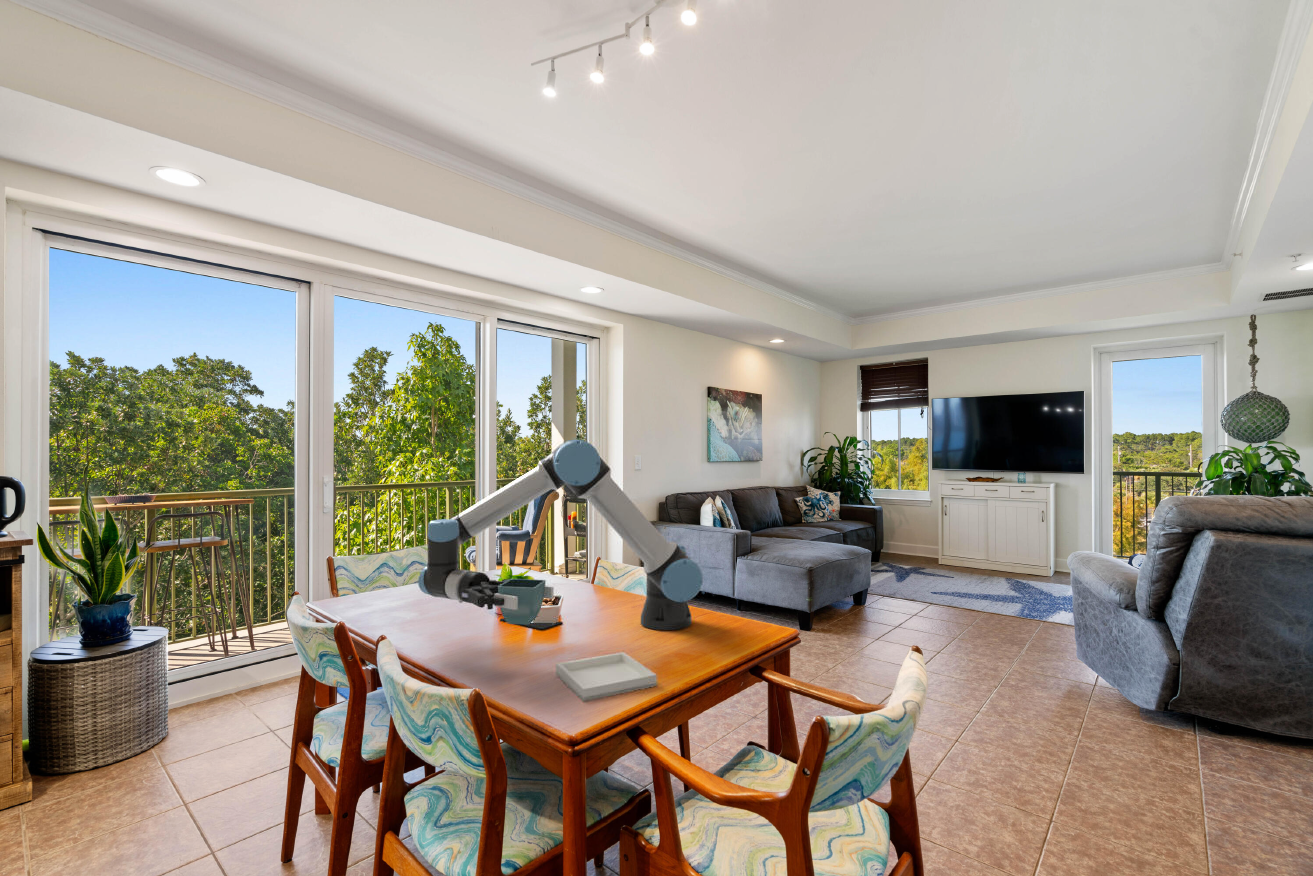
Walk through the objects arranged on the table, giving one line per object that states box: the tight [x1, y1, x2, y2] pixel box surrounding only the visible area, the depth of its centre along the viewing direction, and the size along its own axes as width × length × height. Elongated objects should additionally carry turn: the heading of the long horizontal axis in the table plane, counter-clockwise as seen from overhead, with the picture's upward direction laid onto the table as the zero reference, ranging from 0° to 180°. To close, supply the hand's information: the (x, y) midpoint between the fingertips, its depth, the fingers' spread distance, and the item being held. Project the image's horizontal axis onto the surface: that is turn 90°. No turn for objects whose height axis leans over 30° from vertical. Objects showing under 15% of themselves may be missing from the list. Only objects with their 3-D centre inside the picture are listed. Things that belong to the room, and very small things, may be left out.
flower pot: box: [498, 578, 546, 625], centre depth 140 cm, size 9×9×9 cm
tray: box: [555, 651, 658, 702], centre depth 136 cm, size 17×17×2 cm
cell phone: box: [499, 617, 564, 632], centre depth 182 cm, size 9×18×1 cm, turn 56°
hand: (535, 597), depth 138 cm, fingers closed on flower pot, 11 cm apart
